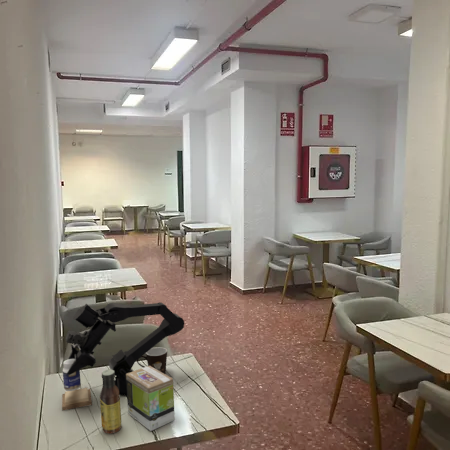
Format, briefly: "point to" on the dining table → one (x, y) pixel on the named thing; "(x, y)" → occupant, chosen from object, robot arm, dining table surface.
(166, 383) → the tea box
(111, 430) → the sauce bottle
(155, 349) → the coffee mug
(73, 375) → the pill bottle
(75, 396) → the stand
